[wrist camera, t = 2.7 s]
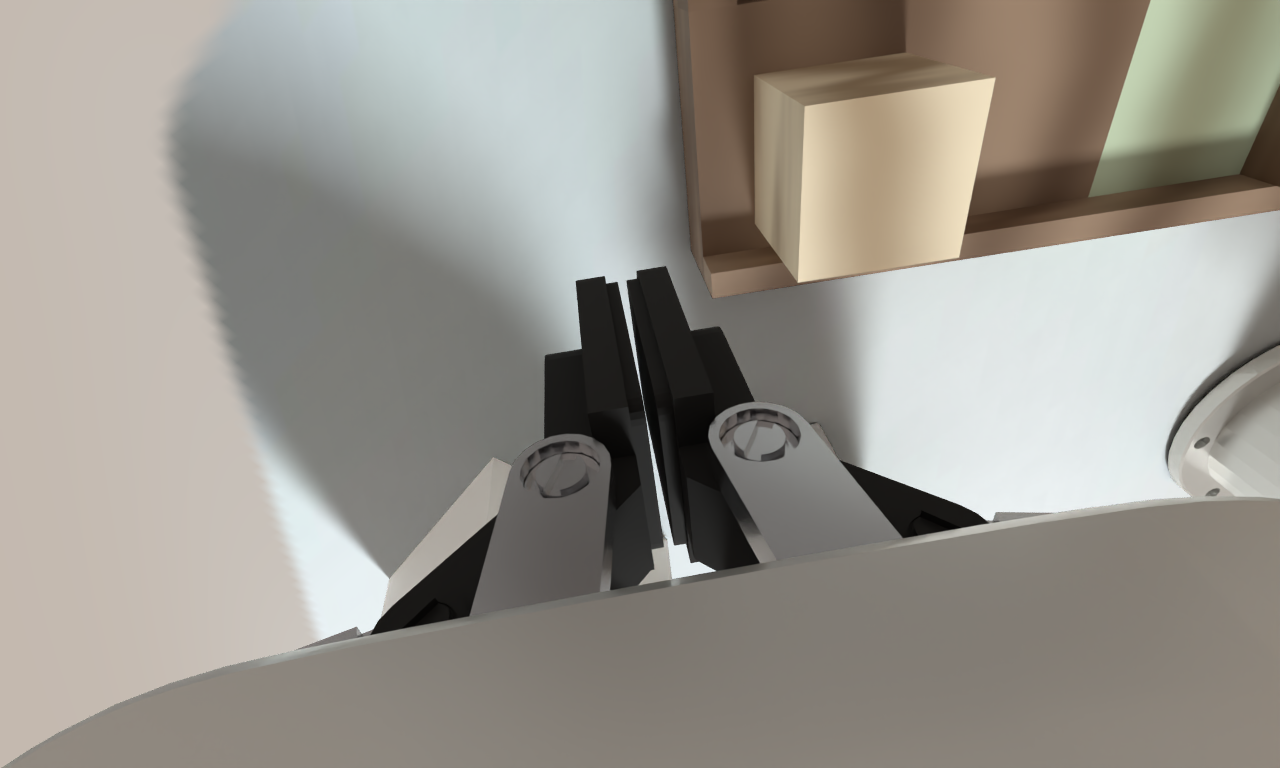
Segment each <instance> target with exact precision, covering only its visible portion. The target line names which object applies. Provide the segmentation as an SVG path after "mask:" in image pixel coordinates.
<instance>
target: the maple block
mask: <svg viewBox="0 0 1280 768" xmlns="http://www.w3.org/2000/svg"><path fill="white" fill-rule="evenodd" d="M995 79H996V78H995V77H992V76H988V75H985V74H981V73H978V72H974V71H970V70H967V69H963V68H960V67H956V66H952V65H949V64H945V63H942V62H938V61H934V60H931V59H927V58H924V57H920V56H916V55H913V54H909V53H899V54H892V55H886V56H879V57H872V58H866V59H859V60H852V61H845V62H839V63H832V64H825V65H819V66H812V67H805V68H798V69H792V70H785V71H778V72H772V73H765V74H758V75H754V162H755V225H756V226H757V227H758V229H759V230H760V231H761V233H762V234H763V236H764V237H765V238H766V240H767V241H768V242H769V244H770V245H771V247H772V248H773V249H774V251H775V252H776V253H777V255H778V256H779V258H780V259H781V260H782V262H783V263H784V264H785V266H786V267H787V268H788V270H789V271H790V273H791V274H792V275H793V277H794V278H795V279H796V281H797V282H798V283H800V282H806V281H812V280H819V279H825V278H832V277H838V276H845V275H851V274H857V273H864V272H870V271H877V270H883V269H889V268H896V267H902V266H909V265H915V264H921V263H928V262H934V261H941V260H947V259H953V258H959V255H960V250H961V245H962V240H963V236H964V231H965V226H966V221H967V216H968V211H969V206H970V201H971V196H972V191H973V186H974V182H975V177H976V172H977V167H978V162H979V157H980V152H981V147H982V142H983V137H984V132H985V128H986V123H987V118H988V113H989V108H990V103H991V98H992V93H993V88H994V83H995Z"/></svg>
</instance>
